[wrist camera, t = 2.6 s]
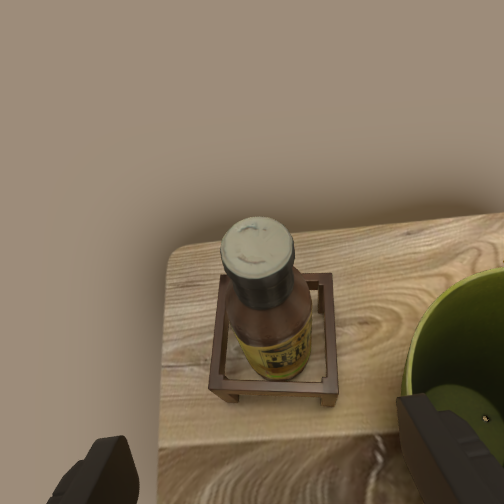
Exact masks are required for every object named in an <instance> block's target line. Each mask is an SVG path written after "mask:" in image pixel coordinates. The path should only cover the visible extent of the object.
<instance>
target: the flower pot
mask: <svg viewBox="0 0 504 504" xmlns="http://www.w3.org/2000/svg"><path fill="white" fill-rule="evenodd" d="M421 393H424V394H425V395H426V396H427V397H428V398H429V400H430V401H431V403H432V404H433V406H434V407H435V409H436V410H437V411H444V410H451V411H452V412H454V413H455V414H457V415H458V416H460V417H461V418H463V419H464V420H466V421H467V422H468V423H469V424H470V426H471V427H472V428H473V430H474V431H475V432H476V433H477V435H478V436H479V437H480V440H481V441H483V443H484V444H485V445H486V446H487V448H488V449H489V450H490V453H491V455H492V454H493V455H494V457H495V458H496V459H497V461H498V462H499V463H500V465H501V466H502V467H503V468H504V267H500V268H495V269H490V270H486V271H483V272H480V273H477V274H474V275H471V276H469V277H467V278H465V279H463V280H461V281H459V282H457V283H456V284H454V285H453V286H451V287H450V288H448V289H447V290H446V291H445V292H443V293H442V294H441V295H440V296H439V297H438V298H437V299H436V300H435V301H434V302H433V303H432V304H431V305H430V307H429V308H428V309H427V311H426V312H425V314H424V315H423V317H422V319H421V320H420V322H419V324H418V326H417V328H416V330H415V333H414V336H413V338H412V341H411V345H410V348H409V352H408V355H407V359H406V364H405V368H404V373H403V378H402V386H401V396H407V395H414V394H421ZM483 416H487V417H488V418H489V422H486V421H484V420H483Z"/></svg>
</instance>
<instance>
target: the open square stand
mask: <svg viewBox="0 0 504 504" xmlns="http://www.w3.org/2000/svg"><path fill="white" fill-rule="evenodd" d="M301 275H302V276H303V278H304V279H305V281H306V283H307V285H308V287H309V290H318V313H319V314H324V334H325V358H326V377H322V381H321V382H293V381H259V380H229V379H228V378H227V377H226V376H225V364H226V353H227V341H228V330H229V318H228V316H227V312H226V308H225V294H226V290H227V286H228V284H229V282H230V280H231V279H230V278H229V277H228V275H220V283H219V292H218V301H217V311H216V320H215V329H214V339H213V348H212V357H211V366H210V375H209V385H208V389H209V390H210V391H211V392H213V393H214V394H216V395H217V396H218V397H220V398H221V399H222V400H224V401H225V402H228V403H238V401H239V394H242V395H270V396H298V397H321V406H329V407H334V406H335V403H336V400H337V397H338V394H339V389H338V371H337V353H336V335H335V316H334V298H333V280H332V273H301Z"/></svg>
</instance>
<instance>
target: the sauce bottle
mask: <svg viewBox="0 0 504 504" xmlns="http://www.w3.org/2000/svg"><path fill="white" fill-rule="evenodd" d="M220 253H221V259H222V263H223V266H224V270H225V272H226V273H227V275H228V277H229V278H230V279H231V280H230V282H229V284H228V286H227V290H226V294H225V308H226V312H227V316H228V318H229V321H230V325H231V328H232V330H233V332H234V334H235V336H236V338H237V340H238V342H239V344H240V346H241V348H242V350H243V352H244V354H245V356H246V358H247V360H248V362H249V363H250V365H251V366H252V368H253V369H254V370H255V371H256V372H257V373H258V374H259V375H261V376H262V377H263V378H265V379H268V380H271V381H285V380H288V379H290V378H292V377H294V376H296V375H298V374H299V373H301V372H302V370H303V369H304V367H305V365H306V363H307V361H308V359H309V356H310V352H311V332H312V331H311V330H312V299H311V295H310V291H309V287H308V285H307V283H306V281H305V279H304V278H303V276H302V275H301V273H300V272H299V271H298V269H296V268H295V267H293V264H294V259H295V250H294V241H293V238H292V236H291V234H290V232H289V231H288V230H287V229H286V228H285V226H284V225H283V224H281V223H279V222H278V221H276V220H274V219H271V218H267V217H251V218H246V219H244V220H242V221H240V222H238V223H236V224H235V225H233V226H232V227H231V228H230V229H229V230H228V231H227V233H226V234H225V235H224V237H223V239H222V242H221V248H220Z"/></svg>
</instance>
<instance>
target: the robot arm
mask: <svg viewBox="0 0 504 504" xmlns="http://www.w3.org/2000/svg"><path fill="white" fill-rule="evenodd" d="M396 406H397V416H398V426H399V436H400V444H401V449H402V453H403V456H404V459H405V462H406V465H407V467H408V469H409V471H410V474H411V476H412V478H413V480H414V482H415V484H416V486H417V489H418V491H419V493H420V495H421V497H422V499H423V501H424V503H425V504H504V468H503V467H502V466H501V465H500V463H499V462H498V461H497V459H496V458H495V457H494V455H493V454H492V455H491V453H490V450H489V449H488V448H487V446H486V445H485V444H484V443H483V441H481V440H480V437H479V436H478V435H477V433H476V432H475V431H474V430H473V428H472V427H471V426H470V424H469V423H468V422H467V421H466V420H464V419H463V418H461V417H460V416H458V415H457V414H455V413H454V412H452V411H451V410H444V411H437V410H436V409H435V407H434V406H433V404H432V403H431V401H430V400H429V398H428V397H427V396H426V395H425V394H424V393H421V394H414V395H407V396H400V397H397V398H396ZM138 497H139V477H138V473H137V470H136V467H135V464H134V461H133V457H132V454H131V451H130V448H129V445H128V442H127V439H126V438H125V436H114V437H108V438H100V439H97V440H96V441H95V442H94V443H93V445H92V447H91V449H90V450H89V452H88V454H87V456H86V457H85V459H84V460H80V461H78V462H77V463H76V464H75V465H74V466H73V467H72V468H71V469H70V470H69V471H68V472H67V473H66V474H65V475H64V476H63V477H62V479H61V481H60V482H59V484H58V485H57V487H56V489H55V490H54V492H53V496H52V497H50V499H49V500H48V502H47V504H137V500H138Z"/></svg>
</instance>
